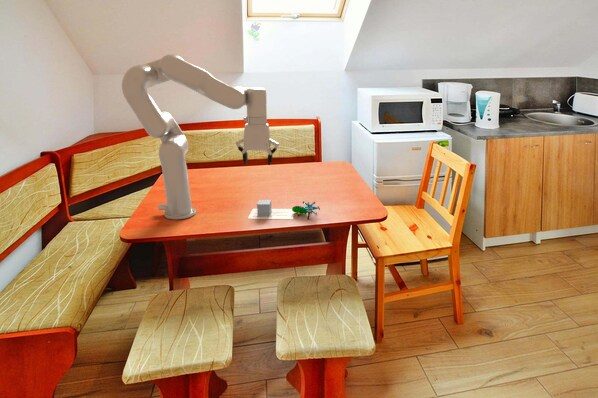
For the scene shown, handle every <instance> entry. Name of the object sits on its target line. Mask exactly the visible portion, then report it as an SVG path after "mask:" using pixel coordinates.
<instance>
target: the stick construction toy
mask: <svg viewBox="0 0 598 398" xmlns="http://www.w3.org/2000/svg"><path fill="white" fill-rule="evenodd" d="M302 204H304V205H306V206H301V205H295V206H293V207H292V208H291V209H292V211H293V212H295V213H296V214H297V217H300V215H301V214H302V215H307V221H308V220H309V221H310V217H311V214H312V213H313V214H314V215H317V214H318V212H315V211H314V210H319V211H321V207H320V206H314V205H315V204H316V201H313V202H312V203H311V204H310V202H309V201H308V202H306V201H304V200H303V201H302Z"/></svg>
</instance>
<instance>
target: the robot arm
mask: <svg viewBox="0 0 598 398" xmlns="http://www.w3.org/2000/svg"><path fill="white" fill-rule="evenodd" d="M169 81H172V82H174V83H176V84H179V85H181V86H182V87H185V88H187V89H190V90H192V91H194V92H196V93H198V94H200V95H202V96H204V97H206V98H207V99H209V100H210V101H212V102H213V101H214V102H215V103H218V104H220V105H222V106H223V107H226V108H229V109H231V110H239V109H241V108H243V107H245V106H246V116H244V117H243V121H245V122H246V123H245V124H244V130H243V138H241V139H239V140H238V141H236V142H235V146H236V147H237V149H238V150H239V152H240V153H241V154H242V162H243V164H245V165H246V164H247V163H248V162H249V161H248V159H249V157H248V152H247V151H259V152H260V151H261V152H262V151H264V152H265V151H266V152H267V153H268V154H267V165H268V166H270V165H271V163H273V154H274V153H275V152H277V150H278V148H279V146H280V143H279V142H277V141H275V140H274V139H272V138H271V134H270V125H269V123H268V121H267V117H268V113H267V91H266V89H265V88H264V87H242V86H231V85H229V84H227V83H225V82H223V81H221V80H219V79H217V78H215V77H214V76H213V75H212V74H211V73H210V72H208V71H206V69H204V68H202V67H200V66H197V65H194V64H192V63H190V62H188V61H186V60H184V59H183V57H181V56H180V55H177V54H167V55H164V56H162V57H161V58H160V59H157V60H153V61H151V62H147V63H144V64H137V65H133V66H131V67H130V68H129V69H128V70H126V72H125V74H124V76H123V77H122V80H121V90H122V91H121V92H122V94H123V97H124V98H125V100H126V102H127V104H128V105H129V107H130V108H131V110H132V111H133V113H134V114H135V117H136V118H137V119H138V122H140V124H141V126H142V127H143V128H144V130H145V132H146V134H147V135H149V136H150V137H151V138H153V139H159V140H160V141H161V144H159V145H160V146H159V149H158V158H159V162H160V166H161V171H162V177H163V183H164V192H165V198H166V203H165V204H164V203H159V204H157V207H158V210H159V211H164V217H165V218H166V219H168V220H176V221H177V220H184V219H189V218H191V217H193V216H194V215H196V213H197V210H196V208H195V207H194V206H192V199H191V198H192V197H191V189H190V182H189V174H188V166H187V162H186V155H187V153H188V151H189V148H190V147H189V146H190V144H189V141H188V139H187V137H186V136H185V134H184V132H183V130H182V129H181V127H180V126H179V124H178V123H177V121H176V119H175V118H174V117H173V116H172V115H171V113H170V112H167V111H166V110H161V109H160V108H159V107H158V105H157V104H156V102H155V100H154V99H153V98H152V96H151V95H150V94H149V92H148V88H149V89H150V88H152V87H154V86H157V85H160V84H163V83H167V82H169ZM241 144H243V146H242V145H241ZM271 145H273V148H271Z"/></svg>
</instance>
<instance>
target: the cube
mask: <svg viewBox="0 0 598 398" xmlns="http://www.w3.org/2000/svg"><path fill="white" fill-rule="evenodd" d="M256 209H257V214H258V216H270V214H271V212H272V209H273V208H272V200H271V199H259V200H258V202H257V204H256Z"/></svg>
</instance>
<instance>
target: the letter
mask: <svg viewBox="0 0 598 398" xmlns="http://www.w3.org/2000/svg"><path fill="white" fill-rule="evenodd" d="M295 213H296V212H293V211H292V208H272V212H271V214H270V216H258V214H257V208H252V210H251V211H250V213H249V215H248V217H247V220H294V216H295Z"/></svg>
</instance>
